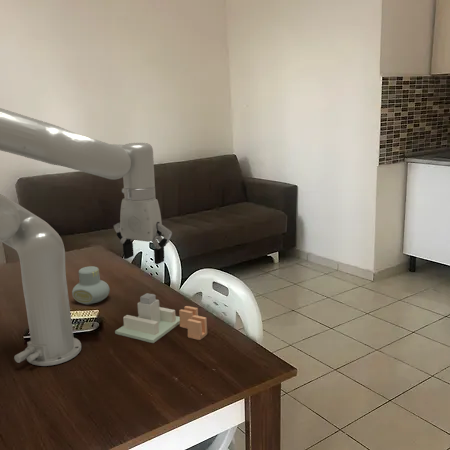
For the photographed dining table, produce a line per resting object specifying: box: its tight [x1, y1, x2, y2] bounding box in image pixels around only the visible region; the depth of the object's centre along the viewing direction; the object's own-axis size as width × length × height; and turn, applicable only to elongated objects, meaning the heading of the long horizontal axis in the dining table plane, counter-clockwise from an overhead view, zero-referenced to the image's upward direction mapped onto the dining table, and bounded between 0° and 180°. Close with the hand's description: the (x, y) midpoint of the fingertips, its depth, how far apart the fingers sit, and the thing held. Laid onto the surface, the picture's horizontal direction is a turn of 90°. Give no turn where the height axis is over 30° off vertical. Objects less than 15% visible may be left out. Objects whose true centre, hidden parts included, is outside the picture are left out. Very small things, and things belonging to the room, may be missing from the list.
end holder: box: [114, 306, 180, 344], centre depth 130 cm, size 14×12×4 cm
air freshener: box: [71, 265, 111, 306], centre depth 147 cm, size 11×8×10 cm
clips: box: [178, 305, 208, 341], centre depth 127 cm, size 8×9×5 cm
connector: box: [137, 292, 161, 323], centre depth 129 cm, size 4×4×8 cm
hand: (143, 260), depth 125 cm, fingers open, 9 cm apart
